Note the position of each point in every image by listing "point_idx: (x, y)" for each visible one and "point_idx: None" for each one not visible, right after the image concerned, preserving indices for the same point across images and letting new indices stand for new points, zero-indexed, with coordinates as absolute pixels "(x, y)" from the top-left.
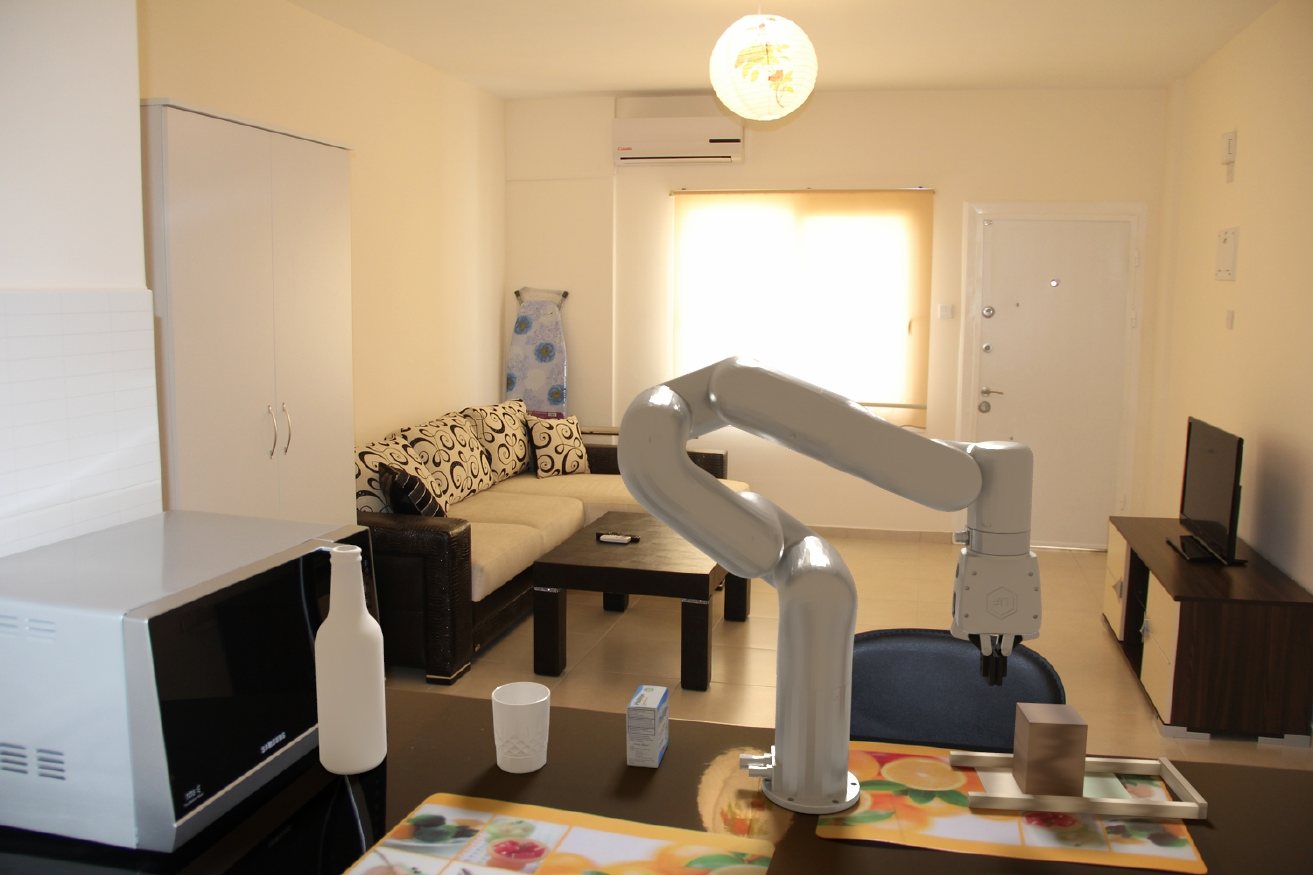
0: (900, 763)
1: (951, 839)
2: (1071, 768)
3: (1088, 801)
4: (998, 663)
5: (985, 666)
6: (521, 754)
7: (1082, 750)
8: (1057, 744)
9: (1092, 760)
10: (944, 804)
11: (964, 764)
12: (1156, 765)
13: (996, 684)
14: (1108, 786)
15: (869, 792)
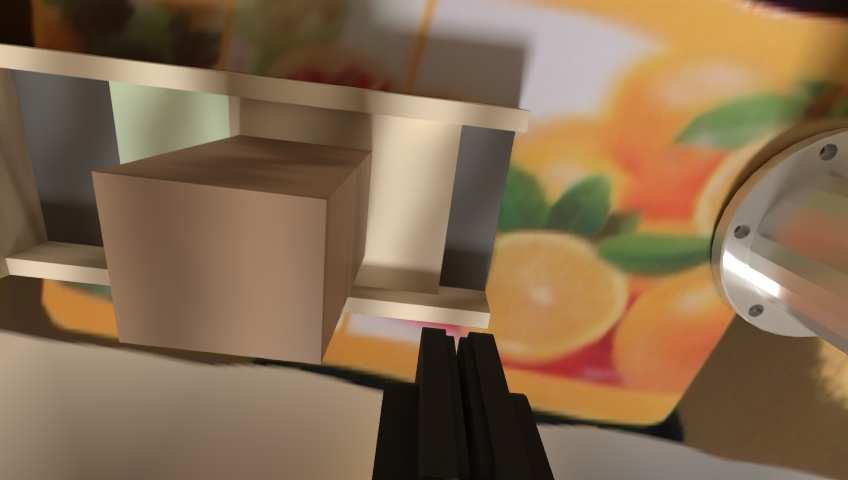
0: (568, 338)
1: (598, 10)
2: (234, 149)
3: (230, 74)
4: (455, 431)
5: (523, 437)
6: None
7: (173, 156)
8: (248, 167)
9: None
10: (546, 171)
11: (457, 297)
12: (19, 257)
13: (451, 337)
14: None
15: (690, 225)
